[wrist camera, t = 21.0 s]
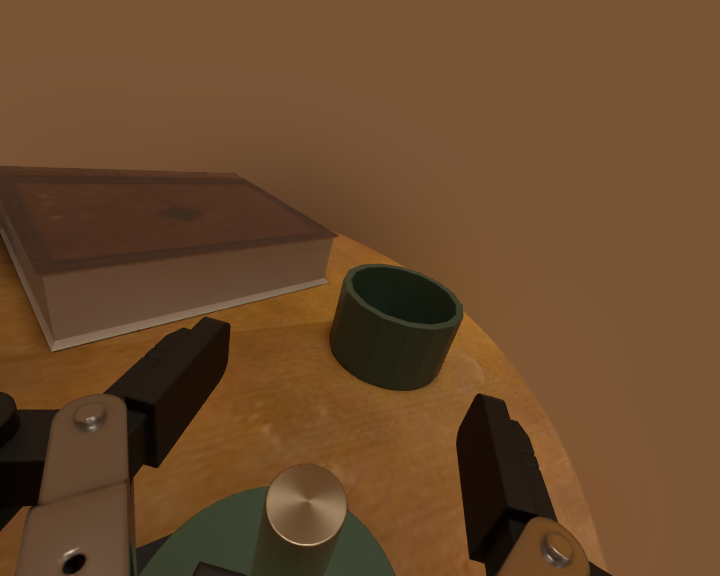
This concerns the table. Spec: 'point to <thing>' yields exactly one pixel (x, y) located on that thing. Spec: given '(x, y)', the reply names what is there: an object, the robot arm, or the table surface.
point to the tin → (394, 326)
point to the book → (149, 247)
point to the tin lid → (277, 533)
